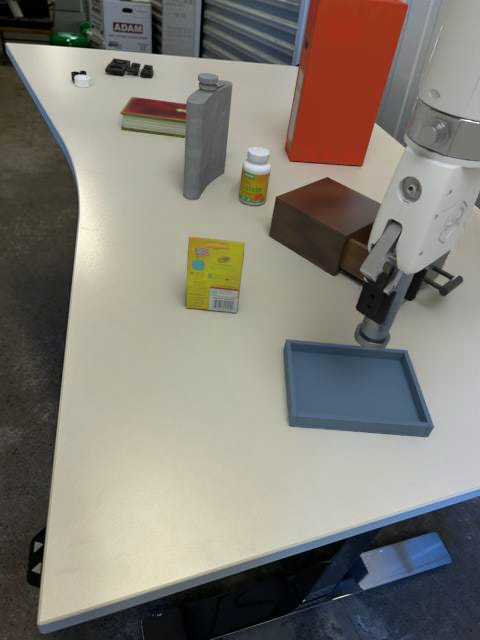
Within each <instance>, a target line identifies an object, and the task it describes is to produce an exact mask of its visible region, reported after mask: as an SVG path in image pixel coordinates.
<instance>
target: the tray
mask: <svg viewBox="0 0 480 640" xmlns="http://www.w3.org/2000/svg"><path fill="white" fill-rule="evenodd" d="M283 363H284V376H285V377H284V378H285V386H286V387H285V388H286V402H287V414H288V416H287V417H288V426H289V427H294V428H307V429H317V430H319V429H320V430H331V431H343V432H356V433H357V432H358V433H370V434H382V435H395V436H396V435H397V436H408V437H409V436H410V437H419V438H420V437H423V438H429V436H430V435H431V433H432V431H433V429H434V428H435V425H434V423H433V419H432V417H431V413H430V411H429V408H428V405H427V402H426V400H425V397H424V394H423V391H422V388H421V385H420V383H419V382H420V381H419V379H418V376H417V374H416V370H415V368H414V365H413V362H412V359H411V357H410V354H409V350H408V349H399V348H398V349H397V348H387V347H386V348H384V349H382V350H378V351H374V350H369V349H366V348H364V347H362V346H361V345H354V344H344V343H343V344H342V343H331V342H320V341H309V340H297V339H288V338H287V339H285V342H284V345H283Z"/></svg>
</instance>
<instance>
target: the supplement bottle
mask: <svg viewBox="0 0 480 640" xmlns="http://www.w3.org/2000/svg"><path fill="white" fill-rule="evenodd" d="M270 155H271V154H270V151H269V149H267V148H265V147H260V146H251V147H249V148H248V149H247V155H246V156H247V158H246V159H245V160H244V161H243V162H242V166H241V174H240V182H239V191H238V199H239V200H240V202H242V203H243V204H245V205H248V206H261V205H263V204H265V203H266V201H267V198H268V197H267V196H268V189H269V185H270V184H269V183H270V177H271V171H272V166H271V164H270V162H269V160H270Z"/></svg>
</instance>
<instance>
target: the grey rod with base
mask: <svg viewBox="0 0 480 640" xmlns="http://www.w3.org/2000/svg"><path fill="white" fill-rule="evenodd" d="M391 256H393V257H395V258H397V257H396V253H392V254H391ZM394 269H395V268H393V267H392V266H390V265H388V264H386V263H385V264H384V266H383V272H385V273H386V274H387V275H388V277H389V278H390V276H391V275H392V273H393V271H394ZM414 274H415V273H414ZM414 274H409V275H407V274H405V273H404V272H403V274H402V276H401V278H400V280H399V281H398V283H397V285H396V287H395V289H394V291H395V292H397V294H396V296H395V298H394V301H393V303H392V306H391V308H390V310H389V313H388V315H387V317H386V320H385V322H383V323H382V324H380V325H379V324H377V323H376V322H374V321H372V320H371V319H369V318H368V317H366V316H365V315H363V319H362V321H361V322H359V323H358V324H356V327H355V330H354V332H353V338H354V340H355V341H356V343H357V344H358V345H359V346H362V347H364V348H366V349H369V350H374V351H378V350H382V349H384V348H387V347H388V346H389V344H390V343H389V342H390V340H391V333H390V331H391V329H392V326H393V324H394V322H395V319H396V317H397V315H398V312H399V310H400V309H401V306H402V304H403V303H402V301H403V299H404V297H405V294H406V292H407V290H408V288H409V285H410V283H411V281H412V279H413V276H414Z"/></svg>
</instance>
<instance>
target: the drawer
mask: <svg viewBox="0 0 480 640" xmlns="http://www.w3.org/2000/svg"><path fill="white" fill-rule="evenodd" d="M372 228H373V226H371V227H370V228H368V229H366V230H364V231H362V232H360V233H358V234H356V235H354V236H352V237H351V238H349V239H348V240H347V243H346V246H345V250H344V253H343V256H342V260H341V263H340V266H339V267H341V268H342V269H344V271H345V272H347V273H349V274H350V275H352V276H354V277H355V278H357V279H359V280H360V281H362V282H363V283H364V282H365V281H364V277H365V276H364V275H363V274H362V273H361V272H360V268H361V266H362V264H363V263H364V261H365V260H366V258H367V257H368V255H369V254H370V253H369V251H368V242H369V238H370V234H371V231H372ZM451 251H452V249H451V250H449V251H448V252H447V253H445V254H444V255H442V256H441V257H440V258H438V259H437V260H435V261H434V262H432V264H431V265H430V266H429V267H428V268H424V269H426V270H428V272H427V274H426V276H425V278H424V280H423V283H422V285H421V287H420V289H419V291H421V290H422V289H423V288H425V287H427V286H430V287H432V288H434V289H436V290H438V294H439V295H440V296H442V297H447V296H449V294H450V293H451V292H453V291H454V290H455V289H457V288H458V287H459V286H460V285H462V284H463V282H464V277H463V276H462V275H459V274H456V275H454V274H451V273H449V272H448V271H446V270H444V269H443V268H444V266H445V263H446V261H447V259H448V257H449V255H450V252H451ZM392 253H396V252H394V251H393V252H392ZM382 269H383V268H382ZM439 275H441V276H442V277H444V278H446V279H448V281H447V282H445V284H443V285H441V284H440V283H438V282H436V281H434V280H436V279H437V278H438V277H439ZM406 301H407V300H406V299H403V301H402V304H404V302H406Z"/></svg>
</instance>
